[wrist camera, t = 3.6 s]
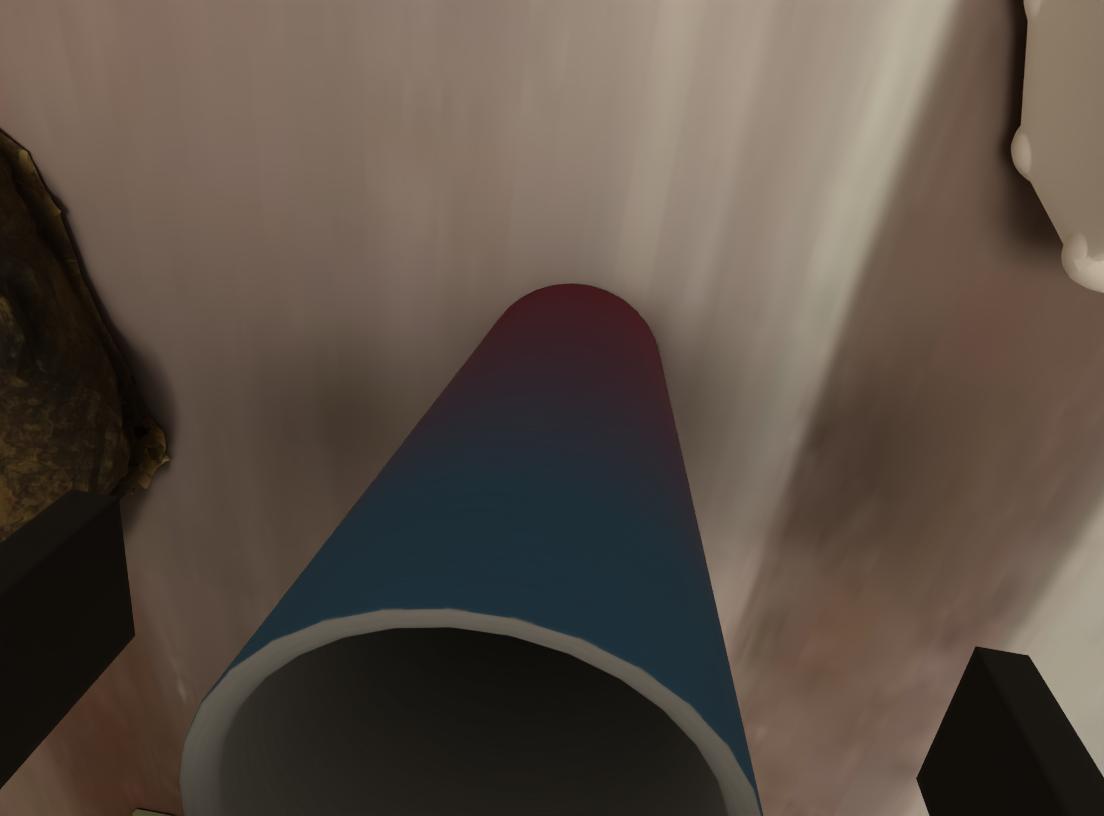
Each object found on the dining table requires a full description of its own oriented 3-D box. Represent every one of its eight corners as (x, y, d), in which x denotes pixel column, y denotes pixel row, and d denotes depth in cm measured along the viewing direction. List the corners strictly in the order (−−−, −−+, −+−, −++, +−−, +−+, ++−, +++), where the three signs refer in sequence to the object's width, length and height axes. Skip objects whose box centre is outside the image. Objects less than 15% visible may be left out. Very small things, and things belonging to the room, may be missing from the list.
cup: (643, 211, 21) (641, 529, 7) (725, 434, 23) (839, 989, 10) (413, 302, 22) (59, 698, 9) (511, 501, 25) (350, 1054, 11)
